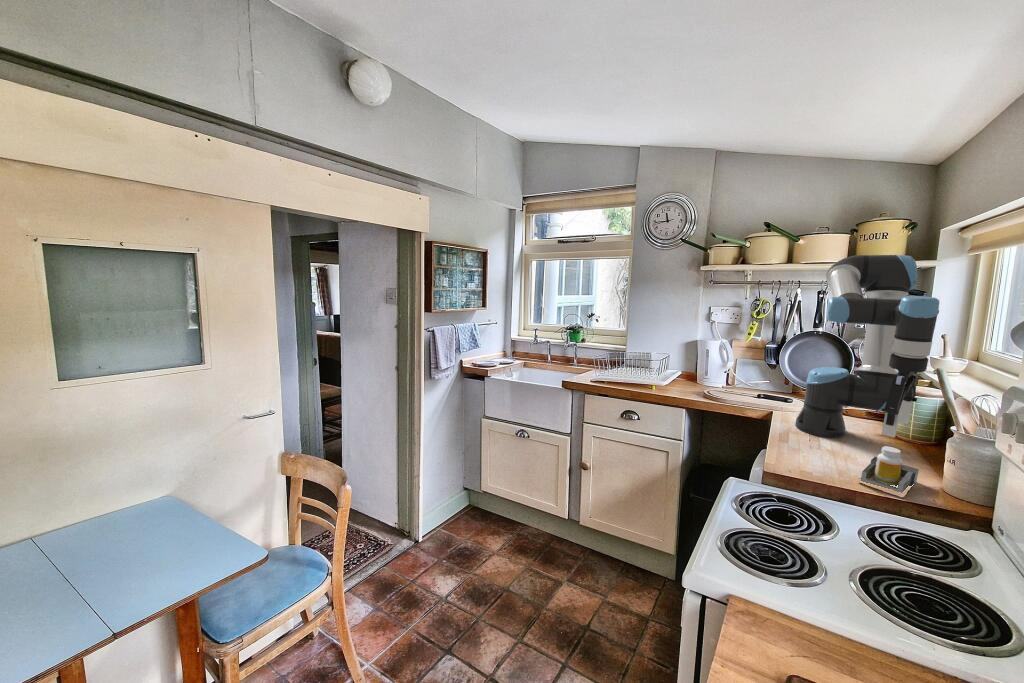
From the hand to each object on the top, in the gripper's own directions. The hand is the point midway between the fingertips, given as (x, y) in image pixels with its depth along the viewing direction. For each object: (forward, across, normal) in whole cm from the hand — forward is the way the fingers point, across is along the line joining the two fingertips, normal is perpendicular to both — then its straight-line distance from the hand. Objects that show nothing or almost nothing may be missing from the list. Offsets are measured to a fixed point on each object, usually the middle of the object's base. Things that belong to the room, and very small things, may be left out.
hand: (895, 428), depth 121 cm
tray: (+17, -1, 0) cm, 17 cm away
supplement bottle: (+16, +1, 0) cm, 16 cm away
